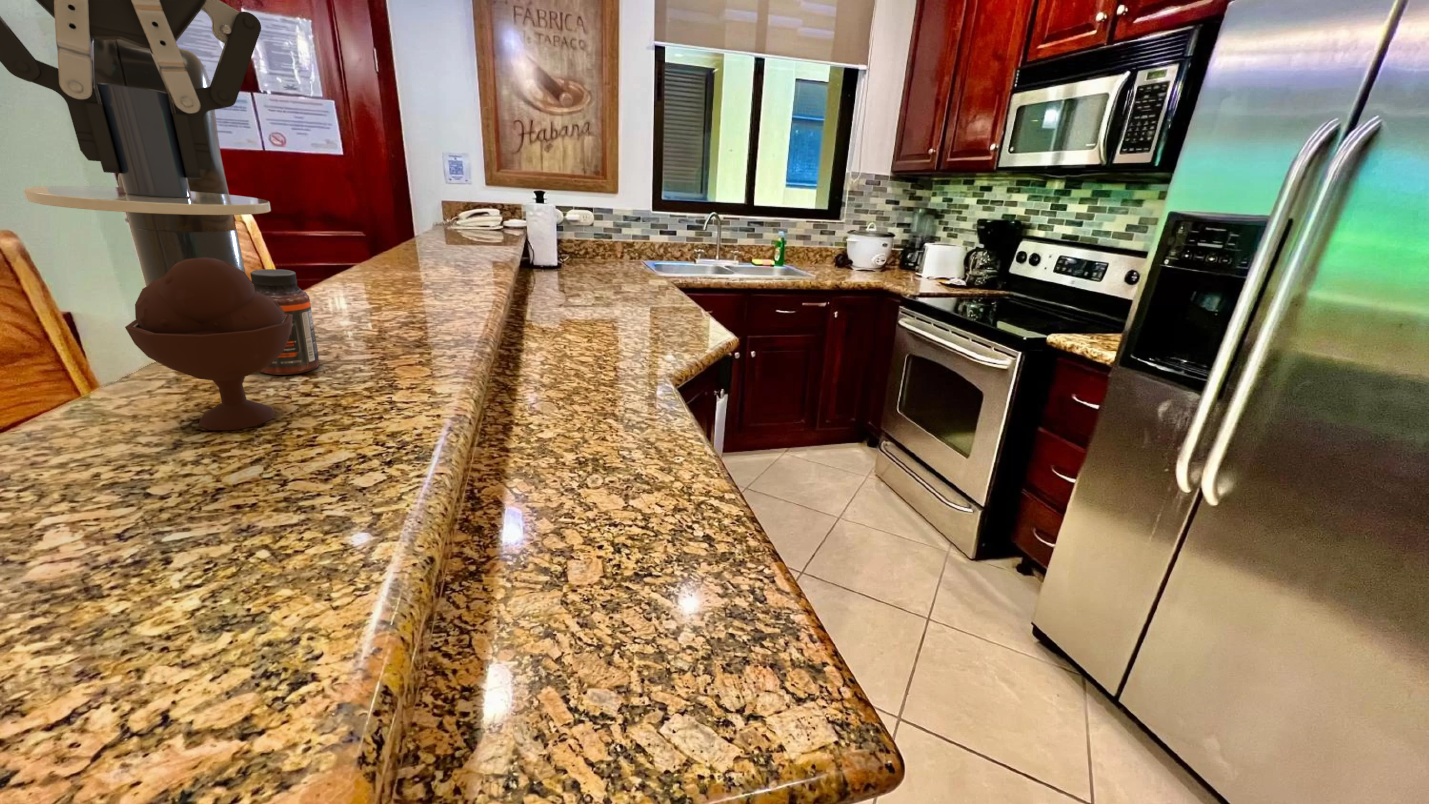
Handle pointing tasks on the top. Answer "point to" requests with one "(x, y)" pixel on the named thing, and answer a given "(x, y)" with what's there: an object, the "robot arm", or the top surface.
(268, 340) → the ice cream bowl
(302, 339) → the supplement bottle
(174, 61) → the robot arm
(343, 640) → the top surface
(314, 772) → the top surface
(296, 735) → the top surface
